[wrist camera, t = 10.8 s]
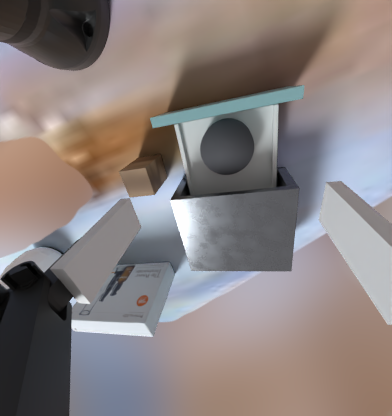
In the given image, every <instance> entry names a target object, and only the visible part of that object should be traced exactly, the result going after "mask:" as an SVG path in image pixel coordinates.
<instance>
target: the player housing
mask: <svg viewBox="0 0 392 416" xmlns="http://www.w3.org/2000/svg"><path fill="white" fill-rule="evenodd" d="M298 196H299V187H298V186H297V184H296V183H295V181H294V180H293V178H292V177H291V176H290V174H289V173H288V171H287V170H286V168H285V167H282V168H277V177H276V187H273V188H263V189H252V190H242V191H232V192H221V193H211V194H201V195H190V191H189V186H188V182H187V179H182V180H181V182H180V184H179V186H178V187H177V189H176V191H175V193H174V195H173V196H172V198H171V200H170V202H171V205H172V208H173V211H174V215H175V218H176V221H177V225H178V228H179V231H180V235H181V238H182V241H183V245H184V248H185V251H186V255H187V258H188V261H189V265H190V268H191V271H291V268H292V258H293V248H294V237H295V227H296V217H297V207H298Z"/></svg>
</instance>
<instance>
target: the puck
mask: <svg viewBox="0 0 392 416" xmlns="http://www.w3.org/2000/svg"><path fill="white" fill-rule="evenodd" d="M200 153H201V157H202V160H203V162H204V164H205V165H206V166H207V167H208V168H209V169H210V170H211V171H213V172H215V173H217V174H221V175H231V174H235V173H237V172H239V171H241V170H243V169H244V168H245V167H246V166H247V165H248V164H249V162H250V161H251V159H252V157H253V153H254V140H253V137H252V134H251V132H250V130H249V128H248V127H247V126H246V125H245V124H244V123H243V122H241V121H239V120H237V119H233V118H225V119H221V120H218V121H216V122H215V123H213V124H212V125H211V126H210V127H209V128H208V129H207V131H206V132H205V134H204V136H203V138H202V141H201V145H200Z"/></svg>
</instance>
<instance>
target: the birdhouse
mask: <svg viewBox="0 0 392 416" xmlns="http://www.w3.org/2000/svg"><path fill="white" fill-rule="evenodd" d="M303 94H304V85H301V86H288V87H283V88H278V89H274V90H269V91H264V92H260V93H255V94H250V95H246V96H241V97H237V98H232V99H227V100H223V101H218V102H213V103H209V104H204V105H199V106H195V107H190V108H186V109H181V110H176V111H172V112H167V113H164V114H161V115H158V116H155V117H152V118H150V120H151V123H152V127H153V128H156V127H162V126H167V125H172V124H175V125H174V126H175V131H176V135H177V139H178V144H179V148H180V152H181V156H182V161H183V165H184V169H185V173H186V178H187V182H188V186H189V191H190V195H201V194H211V193H221V192H232V191H242V190H252V189H263V188H273V187H276V177H277V141H278V106H279V104H278V103H283V102H288V101H293V100H298V99H303ZM225 118H233V119H237V120H239V121H241V122H243V123H244V124H245V125H246V126H247V127H248V128H249V130H250V132H251V134H252V137H253V140H254V153H253V157H252V159H251V161H250V162H249V164H248V165H247V166H246V167H245V168H244V169H243V170H241V171H239V172H237V173H235V174H231V175H221V174H217V173H215V172H213V171H211V170H210V169H209V168H208V167H207V166H206V165H205V164H204V162H203V160H202V157H201V153H200V145H201V141H202V138H203V136H204V134H205V132H206V131H207V129H208V128H209V127H210V126H211V125H212V124H213V123H215V122H216V121H218V120H221V119H225Z"/></svg>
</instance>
